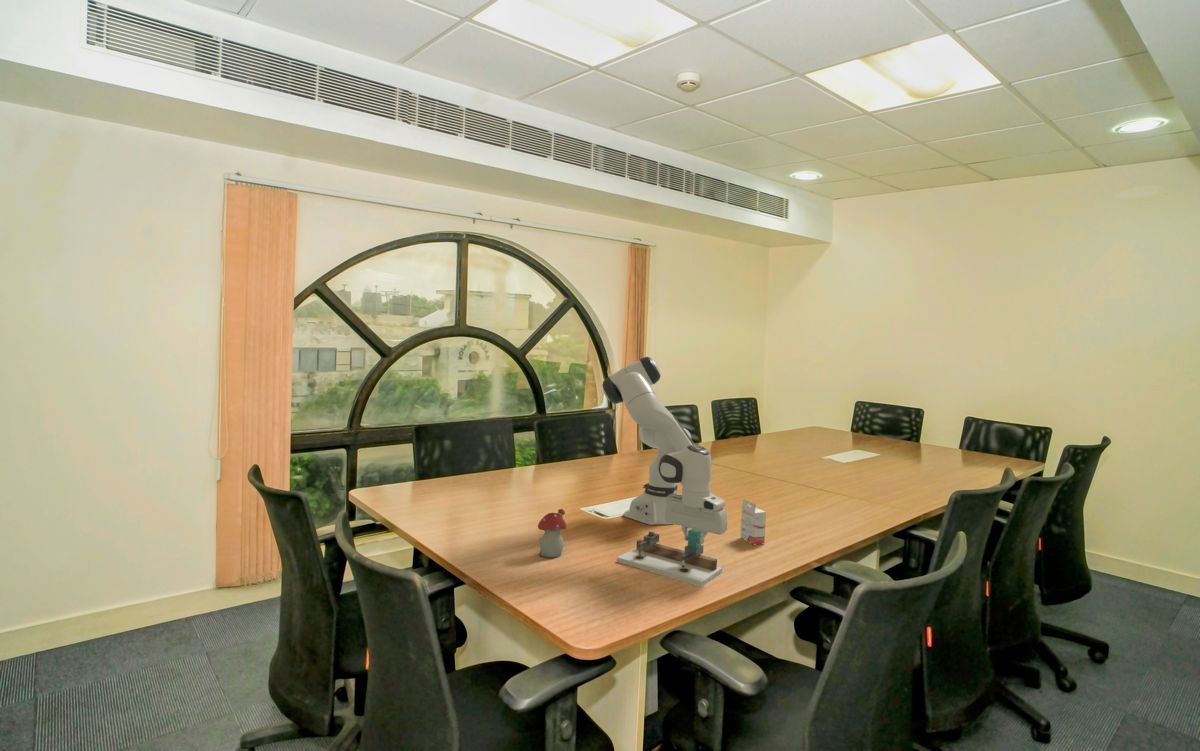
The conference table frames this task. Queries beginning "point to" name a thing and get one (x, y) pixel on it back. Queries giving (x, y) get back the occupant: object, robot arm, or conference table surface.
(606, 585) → the conference table surface
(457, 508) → the conference table surface
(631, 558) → the bolt plate
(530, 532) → the conference table surface
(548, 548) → the decorative ornament
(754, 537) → the ink cartridge box
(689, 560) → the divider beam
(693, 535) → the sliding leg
